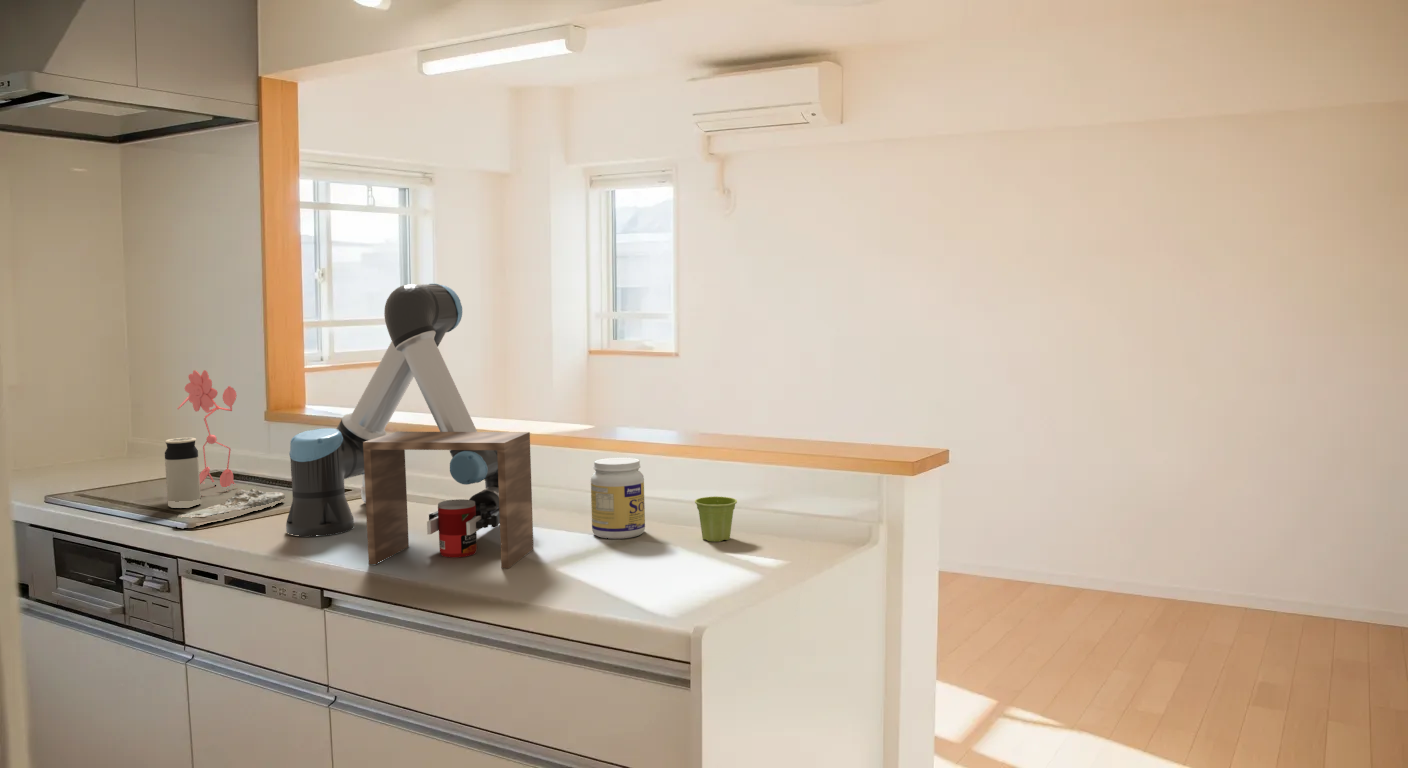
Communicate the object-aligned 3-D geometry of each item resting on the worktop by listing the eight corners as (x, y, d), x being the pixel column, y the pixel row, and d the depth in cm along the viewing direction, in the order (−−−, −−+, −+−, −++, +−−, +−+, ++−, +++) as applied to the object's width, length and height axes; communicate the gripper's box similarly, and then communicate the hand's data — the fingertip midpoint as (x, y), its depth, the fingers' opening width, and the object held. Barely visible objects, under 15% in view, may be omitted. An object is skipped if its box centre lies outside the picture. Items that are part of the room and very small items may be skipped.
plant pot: (739, 534, 244) (738, 496, 243) (736, 544, 235) (735, 504, 234) (697, 534, 245) (697, 496, 244) (693, 543, 236) (692, 504, 235)
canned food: (468, 558, 226) (466, 506, 225) (433, 557, 228) (431, 505, 227) (483, 549, 233) (481, 499, 232) (448, 548, 235) (446, 498, 234)
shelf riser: (368, 565, 222) (363, 442, 220) (402, 546, 238) (397, 431, 236) (508, 568, 217) (504, 442, 215) (533, 549, 233) (529, 432, 231)
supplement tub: (633, 541, 239) (631, 466, 237) (582, 538, 243) (580, 464, 241) (653, 529, 250) (651, 457, 249) (605, 526, 254) (603, 455, 253)
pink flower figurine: (199, 483, 323) (190, 366, 319) (258, 490, 310) (249, 368, 306) (152, 493, 309) (142, 371, 305) (211, 500, 297) (201, 374, 293)
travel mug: (207, 505, 289) (203, 438, 287) (179, 510, 282) (175, 442, 281) (189, 502, 293) (185, 436, 292) (161, 507, 287) (157, 440, 285)
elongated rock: (162, 534, 262) (195, 539, 258) (161, 513, 261) (193, 517, 257) (264, 499, 294) (294, 503, 291) (263, 480, 293) (294, 483, 290)
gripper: (531, 523, 246) (496, 547, 224) (445, 521, 250) (402, 545, 227) (530, 490, 246) (495, 511, 223) (443, 489, 249) (400, 509, 227)
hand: (448, 528), depth 225 cm, fingers closed on canned food, 8 cm apart
